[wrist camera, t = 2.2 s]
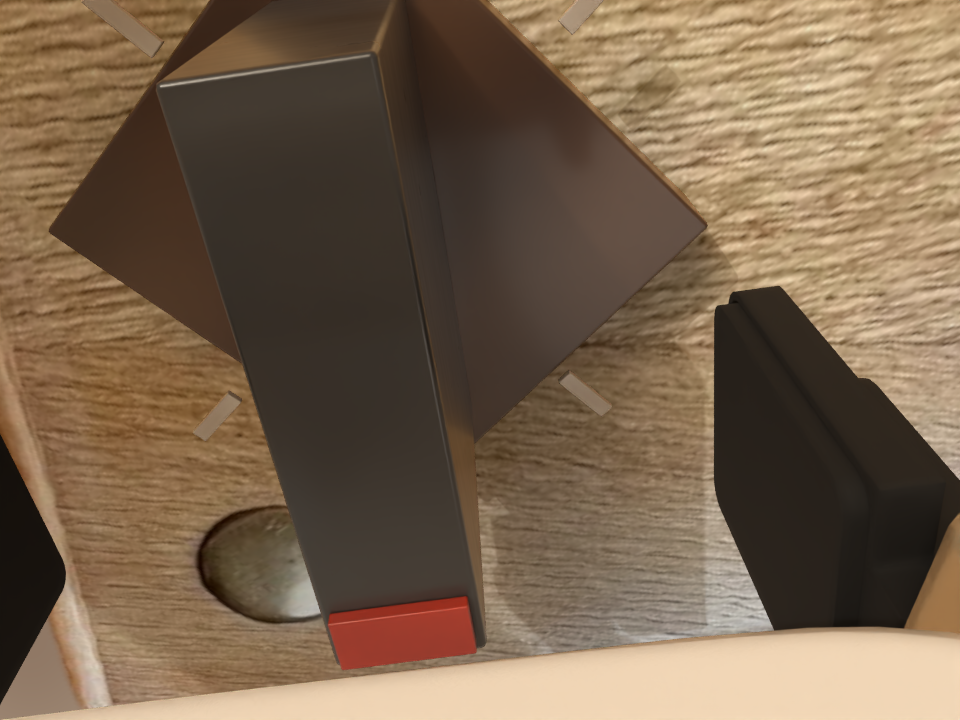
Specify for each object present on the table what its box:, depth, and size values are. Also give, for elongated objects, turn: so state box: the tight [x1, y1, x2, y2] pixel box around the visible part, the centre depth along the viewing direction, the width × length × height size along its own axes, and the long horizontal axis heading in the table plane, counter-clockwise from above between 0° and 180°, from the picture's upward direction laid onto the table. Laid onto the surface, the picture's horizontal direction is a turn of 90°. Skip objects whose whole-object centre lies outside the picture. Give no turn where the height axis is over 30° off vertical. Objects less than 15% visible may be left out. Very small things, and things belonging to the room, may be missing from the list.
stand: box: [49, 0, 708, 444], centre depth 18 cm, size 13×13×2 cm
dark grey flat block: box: [156, 0, 487, 670], centre depth 14 cm, size 9×2×7 cm, turn 8°
